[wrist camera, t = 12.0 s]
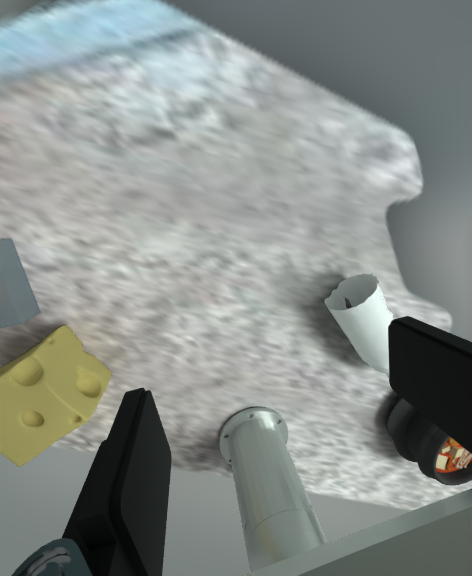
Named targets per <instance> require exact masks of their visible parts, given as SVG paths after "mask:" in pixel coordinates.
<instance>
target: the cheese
mask: <svg viewBox="0 0 472 576" xmlns="http://www.w3.org/2000/svg"><path fill="white" fill-rule="evenodd" d="M111 374H112V373H111V372H110V371H109V370H108V369H107V368H106V367H105V366H104V365H103V364H102V363H101V362H100V361H99V360H98V359H97V358H96V357H95V356H94V355H91V354H87V353H86V352H84V350H83V349H82V342H81V341H80V340H79V339H78V338H77V336H76V335H75V334H74V333H73V332H72V330H71V329H70V328H69V327H68V326H67V325H63V326H61V327H59V328H57V329H56V330H54V331H53V332H52V333H51V334H50V335H48V336H47V337H46V338H45V339H44V340H43V341H42V342H41V343H39V344H38V345H36V346H35V347H33V348H32V349H30V350H29V351H27V352H26V353H24V354H23V355H21V356H19V357H18V358H16V359H15V360H13V361H11V362H9V363H8V364H6V365H4V366H2V367H1V368H0V453H1V454H2V455H4V456H5V457H7V458H8V459H9V460H10V461H12V462H13V463H14V464H16V465H17V466H18V467H20V466H22V465H24V464H25V463H26V462H28V461H30V460H31V459H33V458H34V457H35V456H37V455H38V454H40V453H41V452H42V451H44V450H45V449H46V448H48V447H49V446H50V445H52V444H53V443H54V442H56V441H57V440H59V439H60V438H62V437H63V436H65V435H66V434H68V433H69V432H71V431H73V430H74V429H76V428H78V427H79V426H81V425H83V424H84V423H86V422H87V421H88V420H89V419H90V417H91V415H92V414H93V412H94V411H95V409H96V407H97V405H98V403H99V400H100V398H101V397H102V395H103V393H104V391H105V389H106V387H107V385H108V383H109V380H110V377H111Z"/></svg>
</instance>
